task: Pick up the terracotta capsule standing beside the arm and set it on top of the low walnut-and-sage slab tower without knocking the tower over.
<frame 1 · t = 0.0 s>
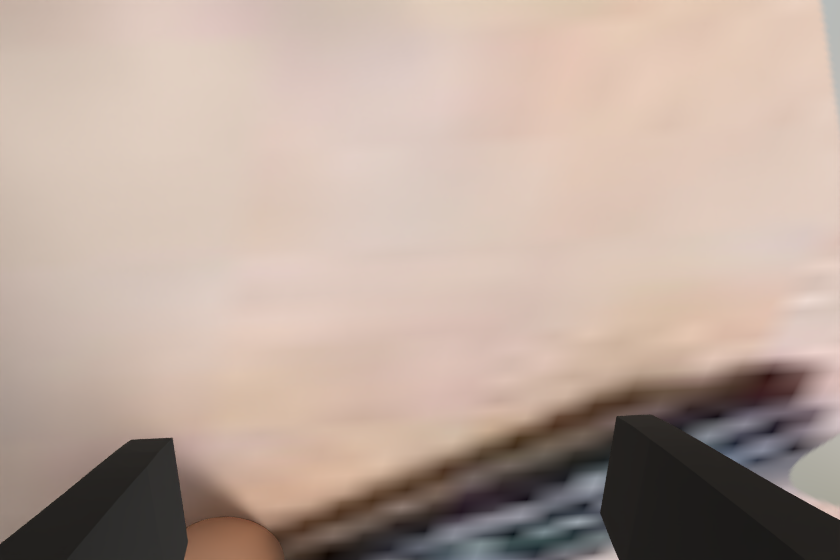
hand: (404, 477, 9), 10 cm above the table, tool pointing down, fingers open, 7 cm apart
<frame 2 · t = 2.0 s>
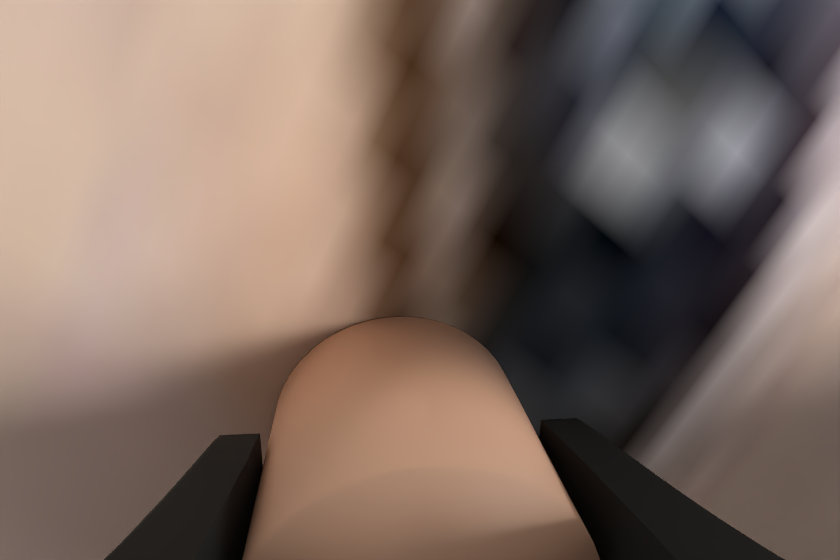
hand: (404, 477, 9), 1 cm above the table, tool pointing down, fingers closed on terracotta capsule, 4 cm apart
terracotta capsule: (397, 426, 10), on the table, touching gripper
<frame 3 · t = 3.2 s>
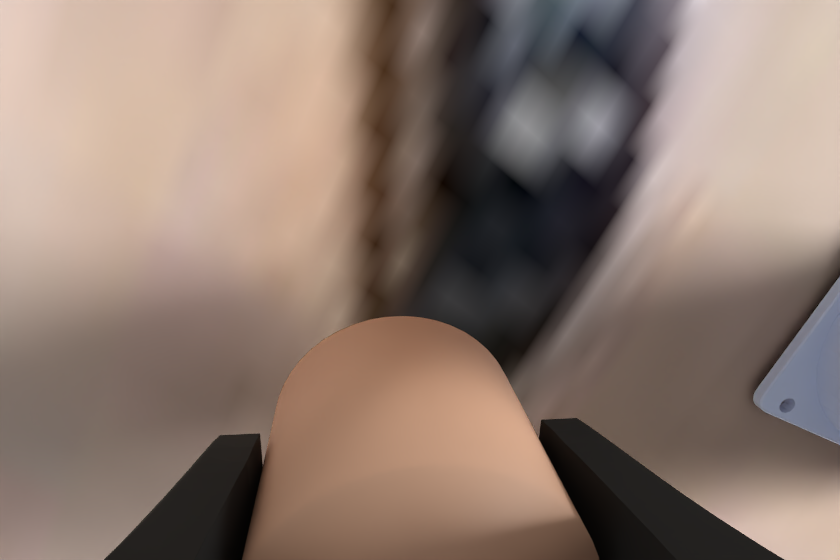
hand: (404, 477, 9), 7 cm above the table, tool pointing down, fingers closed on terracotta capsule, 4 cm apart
terracotta capsule: (396, 425, 10), point 5 cm above the table, touching gripper
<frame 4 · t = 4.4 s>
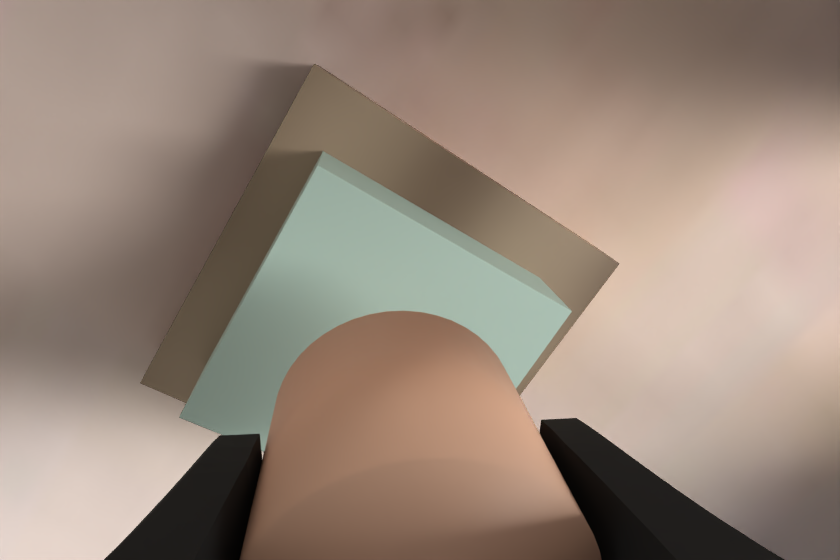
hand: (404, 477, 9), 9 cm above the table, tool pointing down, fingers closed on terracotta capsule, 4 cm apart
sage slab: (373, 321, 16), point 2 cm above the table, touching walnut slab
walnut slab: (379, 291, 18), on the table, touching sage slab
terracotta capsule: (396, 421, 10), point 7 cm above the table, touching gripper
when the fingers open (7 cm above the table, at t = 5.3 s): terracotta capsule drops 2 cm, resting on sage slab.
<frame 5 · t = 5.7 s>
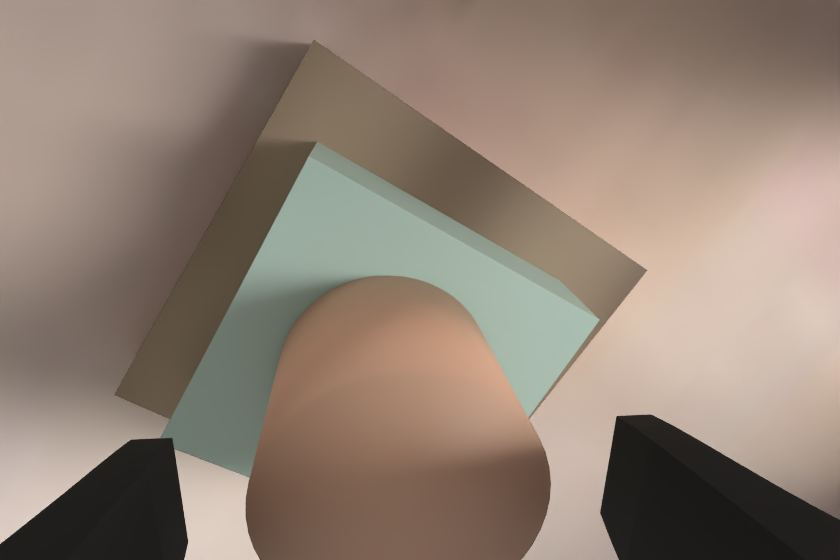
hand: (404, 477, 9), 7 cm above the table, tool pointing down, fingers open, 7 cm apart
sage slab: (376, 331, 14), point 2 cm above the table, touching terracotta capsule, walnut slab
walnut slab: (381, 295, 17), on the table, touching sage slab
terracotta capsule: (385, 374, 12), point 4 cm above the table, touching sage slab
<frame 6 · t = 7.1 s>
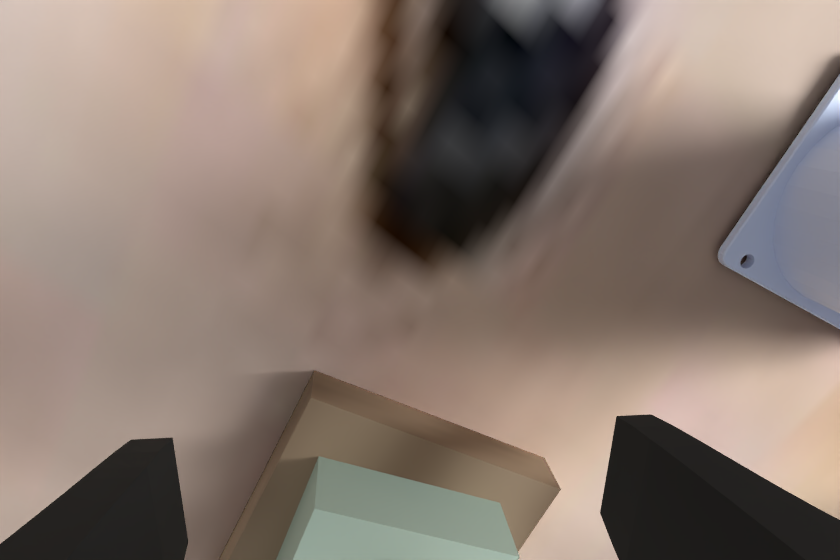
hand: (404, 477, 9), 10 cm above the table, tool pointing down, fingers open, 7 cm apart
sage slab: (377, 554, 21), point 2 cm above the table, touching terracotta capsule, walnut slab
walnut slab: (378, 503, 23), on the table, touching sage slab
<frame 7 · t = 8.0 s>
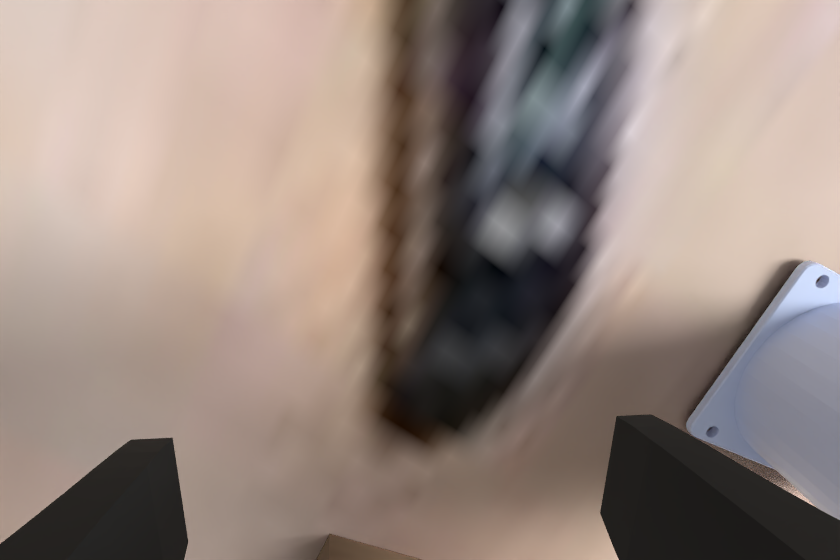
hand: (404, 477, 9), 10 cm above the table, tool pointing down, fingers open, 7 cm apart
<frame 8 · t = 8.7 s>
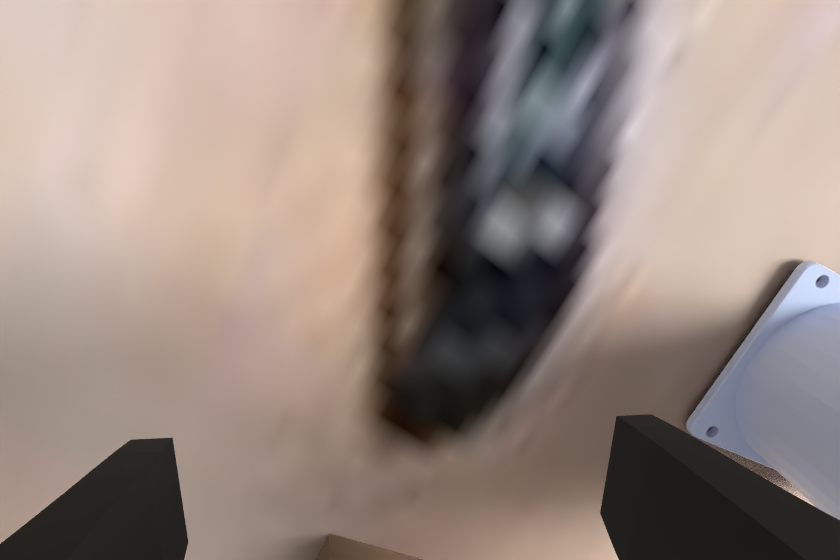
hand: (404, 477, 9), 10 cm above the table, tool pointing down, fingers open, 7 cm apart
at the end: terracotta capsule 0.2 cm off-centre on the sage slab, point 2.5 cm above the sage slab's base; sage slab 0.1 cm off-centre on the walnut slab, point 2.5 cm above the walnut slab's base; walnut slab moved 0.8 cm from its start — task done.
